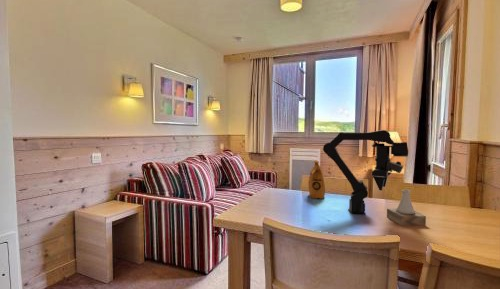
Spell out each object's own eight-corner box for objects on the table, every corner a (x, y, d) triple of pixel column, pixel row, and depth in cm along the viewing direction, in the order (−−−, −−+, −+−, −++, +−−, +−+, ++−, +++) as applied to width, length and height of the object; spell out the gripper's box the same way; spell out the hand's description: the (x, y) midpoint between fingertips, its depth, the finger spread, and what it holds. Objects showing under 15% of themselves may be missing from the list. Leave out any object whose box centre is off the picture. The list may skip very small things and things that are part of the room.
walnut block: (400, 225, 113) (400, 216, 112) (386, 216, 124) (387, 208, 123) (425, 225, 113) (425, 216, 112) (409, 216, 124) (410, 208, 123)
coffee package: (307, 198, 157) (308, 162, 155) (308, 193, 169) (309, 159, 167) (324, 199, 154) (325, 162, 153) (324, 194, 166) (325, 160, 165)
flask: (392, 211, 119) (393, 189, 119) (402, 208, 123) (402, 188, 122) (408, 215, 113) (409, 193, 113) (418, 213, 117) (419, 191, 116)
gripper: (399, 159, 113) (399, 194, 113) (404, 155, 128) (403, 186, 129) (371, 157, 119) (371, 191, 120) (379, 154, 134) (378, 184, 135)
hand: (382, 188), depth 126 cm, fingers open, 9 cm apart
